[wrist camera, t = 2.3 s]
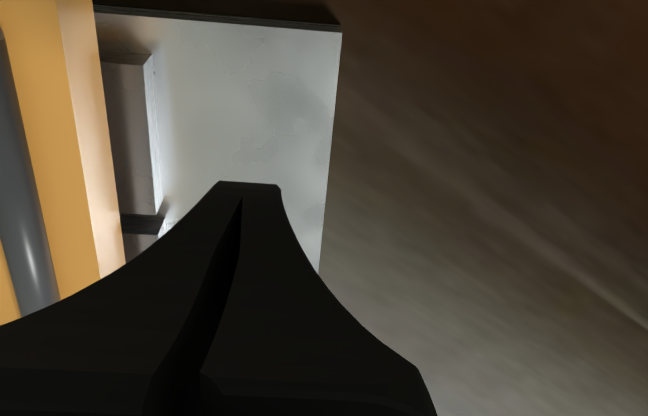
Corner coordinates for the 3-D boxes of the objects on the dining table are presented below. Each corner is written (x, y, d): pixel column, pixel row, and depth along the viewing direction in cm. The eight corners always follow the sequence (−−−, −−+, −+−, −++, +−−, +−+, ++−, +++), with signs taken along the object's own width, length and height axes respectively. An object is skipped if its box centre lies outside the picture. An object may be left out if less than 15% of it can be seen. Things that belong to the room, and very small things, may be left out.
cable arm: (146, 427, 26) (124, 502, 23) (65, 424, 26) (32, 498, 23) (86, -43, 15) (31, -18, 12) (-52, -56, 15) (-143, -33, 12)
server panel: (305, 383, 29) (304, 429, 27) (-60, 366, 28) (-94, 412, 26) (341, 25, 19) (344, 48, 17) (-213, -22, 18) (-288, -4, 16)
